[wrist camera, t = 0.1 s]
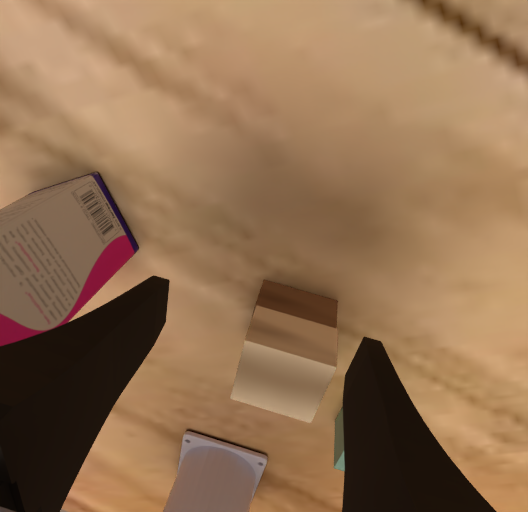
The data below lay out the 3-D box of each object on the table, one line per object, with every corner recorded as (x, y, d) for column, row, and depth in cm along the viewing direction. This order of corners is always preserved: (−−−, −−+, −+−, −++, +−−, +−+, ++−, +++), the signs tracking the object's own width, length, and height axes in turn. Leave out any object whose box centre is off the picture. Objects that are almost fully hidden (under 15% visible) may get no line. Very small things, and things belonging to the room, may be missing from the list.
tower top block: (314, 383, 25) (310, 423, 22) (242, 361, 25) (230, 398, 23) (338, 329, 22) (336, 367, 20) (256, 305, 22) (244, 339, 20)
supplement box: (28, 193, 25) (-176, 294, 15) (99, 169, 23) (-82, 268, 13) (74, 266, 27) (-75, 393, 18) (142, 250, 26) (16, 383, 16)
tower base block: (316, 351, 27) (313, 383, 25) (250, 331, 28) (240, 362, 25) (337, 298, 25) (336, 329, 22) (264, 278, 25) (255, 305, 22)
